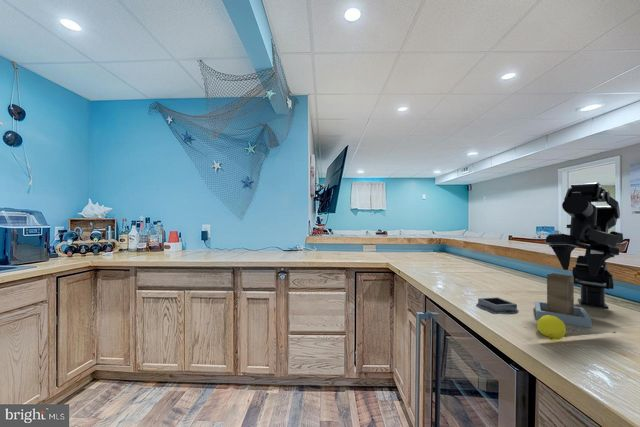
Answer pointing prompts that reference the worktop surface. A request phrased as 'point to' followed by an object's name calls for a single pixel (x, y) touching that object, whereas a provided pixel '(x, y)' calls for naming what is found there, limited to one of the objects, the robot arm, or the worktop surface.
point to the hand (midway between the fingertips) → (579, 273)
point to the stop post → (560, 294)
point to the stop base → (497, 305)
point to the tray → (569, 319)
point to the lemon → (551, 327)
